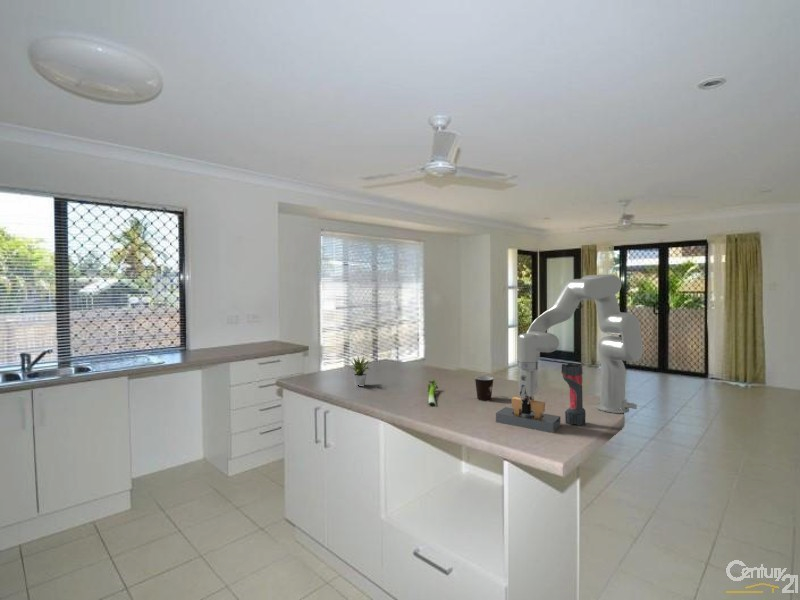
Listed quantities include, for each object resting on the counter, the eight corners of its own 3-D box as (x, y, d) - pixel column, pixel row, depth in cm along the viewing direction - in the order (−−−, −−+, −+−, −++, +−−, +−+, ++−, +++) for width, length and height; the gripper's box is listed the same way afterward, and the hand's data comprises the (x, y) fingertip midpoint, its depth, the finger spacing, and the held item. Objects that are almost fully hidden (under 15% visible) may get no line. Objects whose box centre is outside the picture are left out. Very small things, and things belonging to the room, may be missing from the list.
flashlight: (556, 421, 165) (557, 363, 164) (571, 419, 168) (572, 362, 167) (572, 427, 157) (572, 367, 157) (587, 424, 161) (588, 365, 160)
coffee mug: (482, 402, 193) (482, 380, 192) (471, 398, 200) (471, 377, 200) (502, 399, 198) (502, 378, 198) (490, 394, 206) (490, 374, 205)
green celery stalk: (424, 410, 188) (425, 388, 217) (439, 412, 187) (439, 390, 217) (426, 397, 187) (427, 377, 216) (441, 399, 186) (440, 379, 216)
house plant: (372, 389, 218) (372, 358, 217) (346, 389, 218) (345, 358, 217) (374, 383, 232) (374, 353, 232) (349, 383, 232) (349, 354, 232)
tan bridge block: (544, 422, 160) (545, 402, 160) (541, 425, 158) (542, 404, 157) (513, 416, 167) (514, 396, 167) (511, 418, 165) (511, 398, 164)
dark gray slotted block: (560, 425, 160) (560, 416, 160) (553, 432, 152) (553, 423, 152) (505, 415, 173) (505, 407, 173) (495, 421, 165) (495, 413, 165)
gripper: (530, 370, 153) (530, 419, 154) (544, 363, 166) (543, 409, 167) (510, 368, 157) (510, 416, 158) (525, 361, 171) (525, 406, 171)
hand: (527, 412), depth 162 cm, fingers closed on tan bridge block, 2 cm apart
